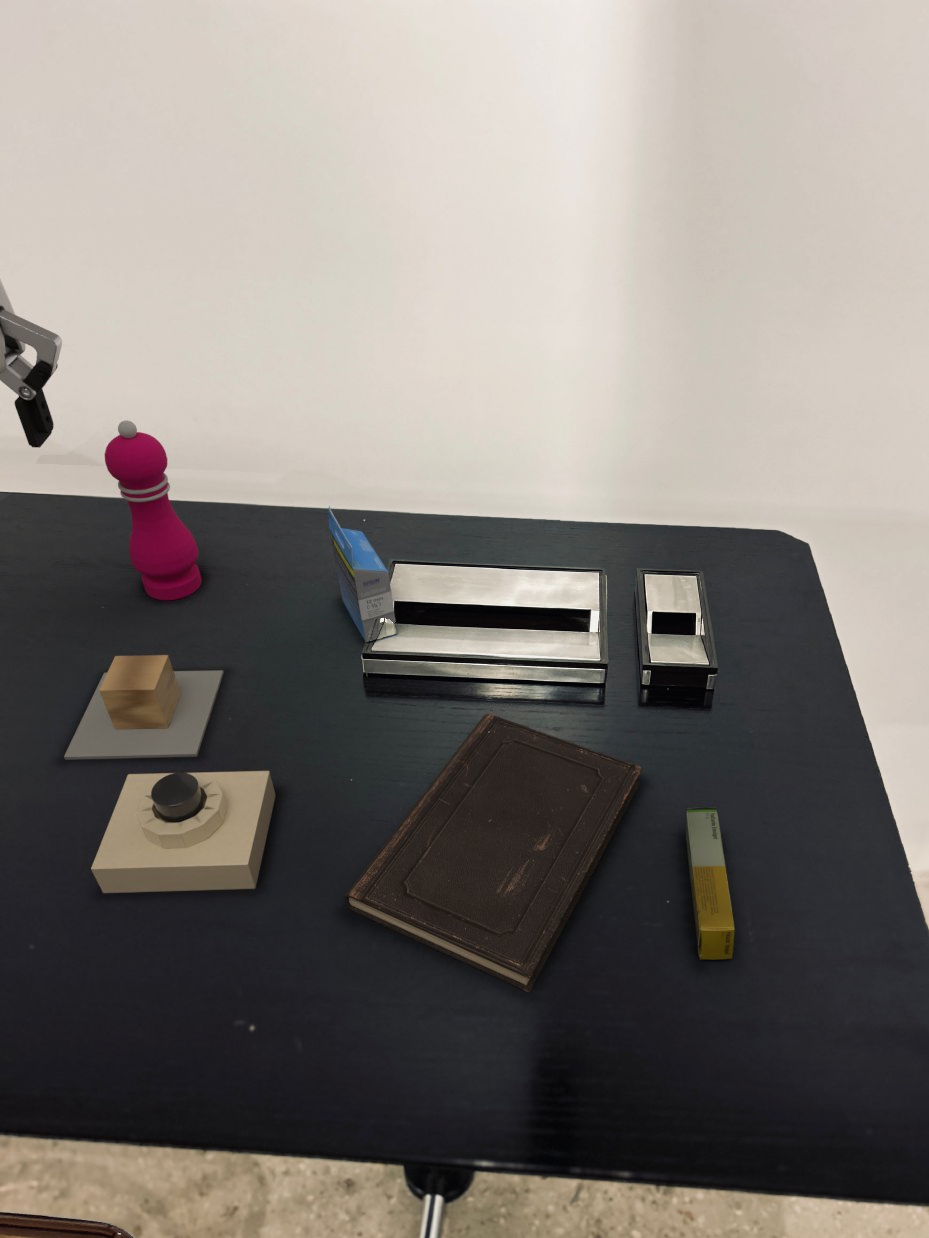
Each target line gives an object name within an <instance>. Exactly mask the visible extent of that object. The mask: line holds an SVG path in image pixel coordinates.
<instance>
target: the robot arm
mask: <svg viewBox="0 0 929 1238" xmlns="http://www.w3.org/2000/svg"><path fill="white" fill-rule="evenodd" d="M26 345H28V346H30V347H32V348H33V349H34V350H35V352H36V357H35V358H36V361H35V365H33V364H32V363H30V361H28V360H27V359H26V358H25V357H23V356H22V355H23V354H24V353H25V351H26V347H27V346H26ZM62 345H63V339H62V338H61V336H60V335H59V334H57V333H55V332H53V331H50V330H49V329H46V328H44V327H42V326H40V325H38V324H36V323H33V322H31V321H29V320H27V319H25V318H23V317H20V316H18V315H17V314H16V313H15V309H14V308H13V306H12V303H11V301H10V298H9V296H8V294H7V290H6V289H5V287H4V284H3V282H2V280H1V279H0V381H1V383H3V384H4V385H5V386H6V387H8V388H9V389H10V390H11V391H12V392H14V393H15V394H16V395H18V397H17V398H16V399H15V400H14V406H15V410H16V412H17V415H18V418H19V421H20V424H21V427H22V430H23V432H24V435H25V438H26V441H27V444H28V445H29V446H30V447H31V448H39V449H40V448H41V447H42V446H43V445H44V444H45V442H46V441H47V440H48V439H49V437H50V436H51V435H52V434H53V430H54V425H55V423H54V420H53V417H52V414H51V411H50V407H49V405H48V401H47V398H46V396H45V393H44V389H43V388H44V387H45V386H46V385H47V383H48V382H49V380H50V379H51V377H52V376H53V375H54V373H55V372H56V371H57V369H58V361H59V359H60V355H61V351H62Z"/></svg>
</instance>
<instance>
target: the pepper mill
mask: <svg viewBox="0 0 929 1238" xmlns="http://www.w3.org/2000/svg"><path fill="white" fill-rule="evenodd" d="M117 431H118V434H119V435H116V436H115V437H113V438H112V439H110V441H109V442H108V444H107V445H106V447H105V452H104V462H105V463H104V464H105V466H106V469H107V471H108V473H109V474H110V475H111V477H113V478H114V479H115V480H117V487H118V489H119V491H120V496H121V498H122V499H124V500H126V501H127V504H128V506H129V509H130V515H131V531H130V537H129V542H128V546H129V547H128V552H129V553H128V554H129V558H130V562H131V565H132V566H133V568H134V569H135V571H137V572H138V573H140V574H142V575H141V581H142V585H143V588H144V590H145V593H146V594H147V595H148V596H149V597H150V598H153V599H155V600H159V601H176V600H180V599H184V598H186V597H188V596H191V595H192V594H194V593H195V592H196V591H197V590H198V589H199V588H200V586H202V575H201V572H200V568H199V566H198V565H197V564H196V562H197V560H198V558H199V548H198V547H199V546H198V545H197V542H196V540H195V537H194V536H193V534H192V533H191V531H190V530H189V528H188V527H187V526H186V525H185V524H184V522H182V520H181V519H180V518H179V516H178V515H177V513H176V512H175V510H174V509H173V506H172V503H171V501H170V499H169V492H170V489H171V484H170V483H169V482H168V480H169V478H168V475H167V474H166V473H165V472H166V469H167V468H168V456H167V452H166V450H165V448H164V446H163V444H162V443H161V442H160V440H158V438H156V437H154V436H153V435H151V434H149V433H145V432H141V431H138V428H137V426H136V424H135V423H134V422H132V421H130V420H122V421H121V422H119V424H118V426H117Z"/></svg>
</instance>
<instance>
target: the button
mask: <svg viewBox="0 0 929 1238" xmlns="http://www.w3.org/2000/svg"><path fill="white" fill-rule="evenodd" d="M172 773H173V774H170V775H167V776H165V777H163V778H161V779H160V780H159V781H158V782H157V783H156V784H155V785H154V786H153V788H152V791H151V798H152V800H153V803H154V805H155V808H156V810H157V813H158V815H159V817H160V818H161V819H163V820H164V821H167V822H171V823H179V822H182V821H185V820H187V819H190V818H192V817H194V816H196V815H197V814H198V813H199V812H200V810H201V809H202V807H203V804H204V798H203V795H202V792H201V789H200V786H199V784H198V781H197V779H196V778H195V777H194V776H193V775H191V774H188V773H189V772H172Z"/></svg>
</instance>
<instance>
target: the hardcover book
mask: <svg viewBox="0 0 929 1238" xmlns="http://www.w3.org/2000/svg"><path fill="white" fill-rule="evenodd" d="M642 771H643V767H642V766H639V765H637V764H634V763H630V762H628V761H625V760H623V759H619V758H616V757H615V756H611V755H609V754H608V755H607V754H605V753H602V752H599V751H596V750H594V749H592V748H588V747H585V746H582V745H579V744H577V743H574V742H571V741H568V740H566V739H562V738H559V737H557V736H554V735H551V734H549V733H545V732H543V731H539V730H537V729H534V728H531V727H529V726H526V725H523V724H521V723H517V722H514V721H512V720H508V719H505V718H504V717H500V716H497V715H495V714H492V713H485V714H483V716H482V718H480V720H479V721H478V723H477V724H476V725H475V726H474V727H473V729H472V730H471V732H470V733H469V734H468V735H467V737H466V738H465V739H464V740H463V742H462V743H461V744H460V746H458V748H457V749H456V751H455V752H454V754H453V755H452V756H451V757H450V759H448V762H446V764H445V765H444V767H443V768H442V769H441V770H440V772H439V773H438V774H437V776H436V777H435V778H434V779H433V781H432V782H431V783H430V785H429V786H428V787H427V788H426V790H425V791H424V792H423V794H422V795H421V796H420V797H419V799H418V800H417V802H416V803H415V804H414V805H413V806H412V808H411V809H410V810H409V812H408V813H407V814H406V815H405V817H404V818H403V820H402V821H401V822H400V824H399V825H398V826H397V827H396V829H394V831H393V832H392V834H391V835H390V836H389V838H388V839H387V840H386V842H385V843H384V844H383V845H382V847H381V848H380V849H379V851H377V853H376V854H375V856H374V857H373V858H372V859H371V861H370V862H369V864H368V865H367V866H366V867H365V868H364V870H363V871H362V873H360V875H359V877H358V878H357V879H356V880H355V882H354V883H353V884H352V886H351V887H350V888H349V889H348V891H347V892H346V893H345V894H344V901H345V905H346V907H347V908H348V909H349V910H350V911H351V912H352V913H354V914H357V915H358V916H361V917H363V918H366V919H367V920H370V921H372V922H374V923H377V924H378V925H380V926H382V927H385V928H387V929H389V930H392V931H393V932H395V933H399V934H400V935H402V936H405V937H406V938H409V939H411V940H413V941H415V942H417V943H420V944H421V945H423V946H426V947H428V948H430V949H432V950H435V951H437V952H440V953H441V954H443V955H446V956H448V957H450V958H452V959H455V960H457V961H459V962H461V963H463V964H465V965H468V966H470V967H472V968H474V969H476V970H478V971H481V972H483V973H484V974H486V975H489V976H491V977H493V978H495V979H498V980H500V981H502V982H504V983H506V984H509V985H511V986H513V987H515V988H517V989H519V990H521V991H524V992H526V993H528V994H530V993H531V991H532V989H533V987H534V986H535V983H536V981H537V979H538V978H539V976H540V975H541V972H542V970H543V969H544V967H545V964H546V962H547V961H548V959H549V957H550V955H551V954H552V951H553V949H554V948H555V945H557V944H556V943H557V942H558V940H559V938H560V936H561V934H562V932H563V930H564V929H565V926H566V925H567V922H568V921H569V919H570V917H571V915H572V914H573V912H574V909H575V908H576V906H577V904H578V902H579V901H580V898H581V896H582V894H583V892H584V891H585V889H586V886H587V885H588V883H589V881H590V879H591V877H592V875H593V873H594V872H595V870H596V868H597V866H598V864H599V863H600V860H601V859H602V856H603V855H604V852H605V851H606V849H607V848H608V846H609V843H610V842H611V839H612V838H613V836H614V833H615V832H616V830H617V828H618V826H619V824H620V822H621V820H623V819H622V818H623V817H624V815H625V813H626V811H627V809H628V807H629V805H630V804H631V801H632V800H633V798H634V796H635V794H636V792H637V790H638V788H639V786H640V784H641V782H640V781H638V779H639V776H640V774H641V772H642Z"/></svg>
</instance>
